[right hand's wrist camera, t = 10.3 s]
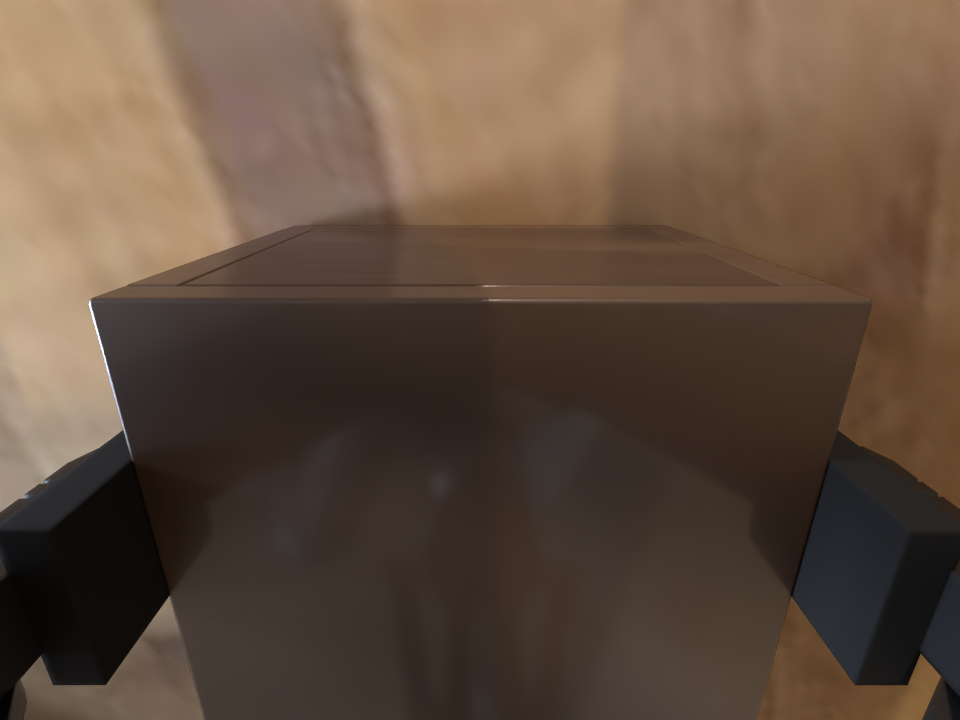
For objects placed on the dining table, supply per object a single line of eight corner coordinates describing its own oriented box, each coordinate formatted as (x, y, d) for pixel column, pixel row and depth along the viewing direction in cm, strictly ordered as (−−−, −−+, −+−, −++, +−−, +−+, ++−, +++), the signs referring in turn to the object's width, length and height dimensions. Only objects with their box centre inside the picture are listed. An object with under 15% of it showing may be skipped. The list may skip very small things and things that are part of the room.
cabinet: (610, 675, 21) (687, 976, 14) (349, 675, 21) (273, 976, 14) (667, 225, 15) (877, 298, 7) (292, 225, 15) (84, 298, 7)
